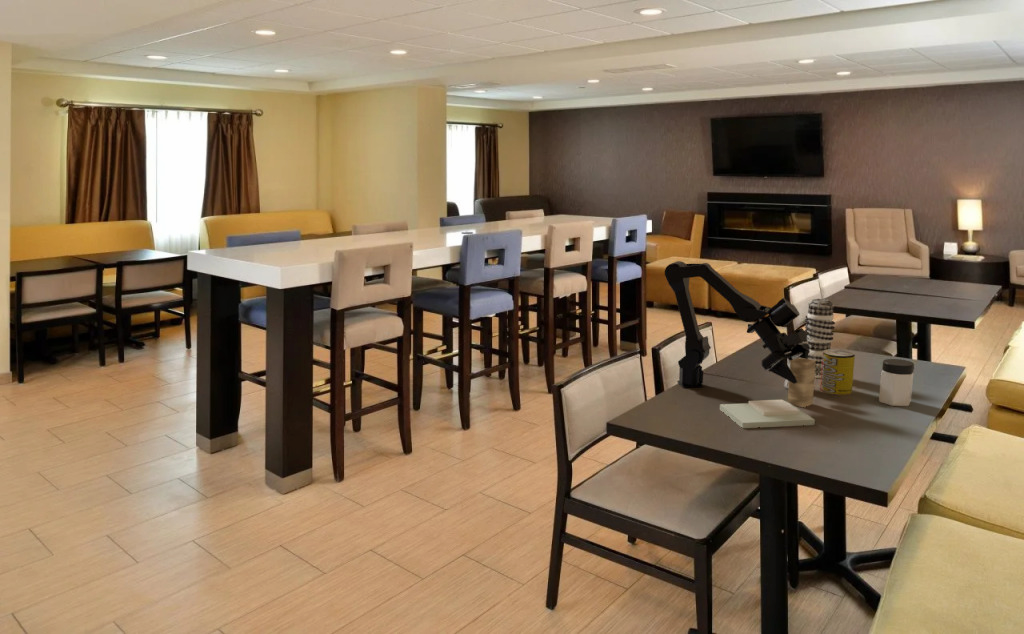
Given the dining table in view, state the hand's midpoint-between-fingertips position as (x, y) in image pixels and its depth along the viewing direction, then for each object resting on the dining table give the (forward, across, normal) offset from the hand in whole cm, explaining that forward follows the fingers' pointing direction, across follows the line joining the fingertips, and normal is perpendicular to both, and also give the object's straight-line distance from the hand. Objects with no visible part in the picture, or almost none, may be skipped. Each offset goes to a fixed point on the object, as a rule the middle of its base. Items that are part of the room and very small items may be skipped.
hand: (803, 379), depth 222 cm
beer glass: (-2, +14, +13) cm, 19 cm away
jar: (+18, +22, -7) cm, 29 cm away
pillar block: (+5, 0, +6) cm, 7 cm away
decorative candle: (-4, +33, +14) cm, 36 cm away
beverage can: (+5, +20, +5) cm, 22 cm away
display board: (+4, -18, +6) cm, 20 cm away
